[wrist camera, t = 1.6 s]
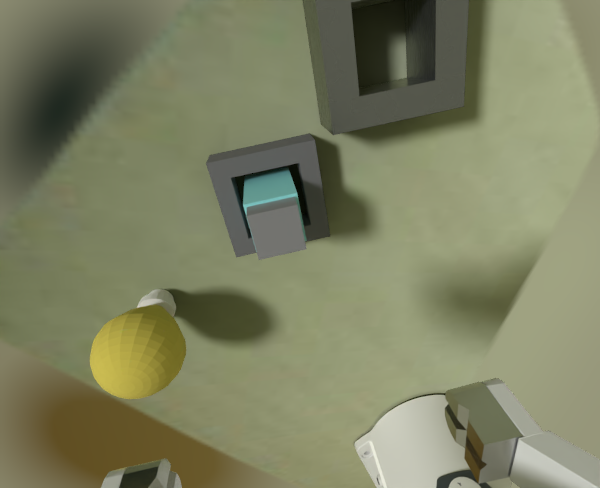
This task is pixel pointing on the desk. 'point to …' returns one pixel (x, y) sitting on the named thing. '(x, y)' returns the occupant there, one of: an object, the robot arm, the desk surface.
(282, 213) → the plug
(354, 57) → the port
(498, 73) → the desk surface
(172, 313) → the light bulb
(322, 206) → the frame
